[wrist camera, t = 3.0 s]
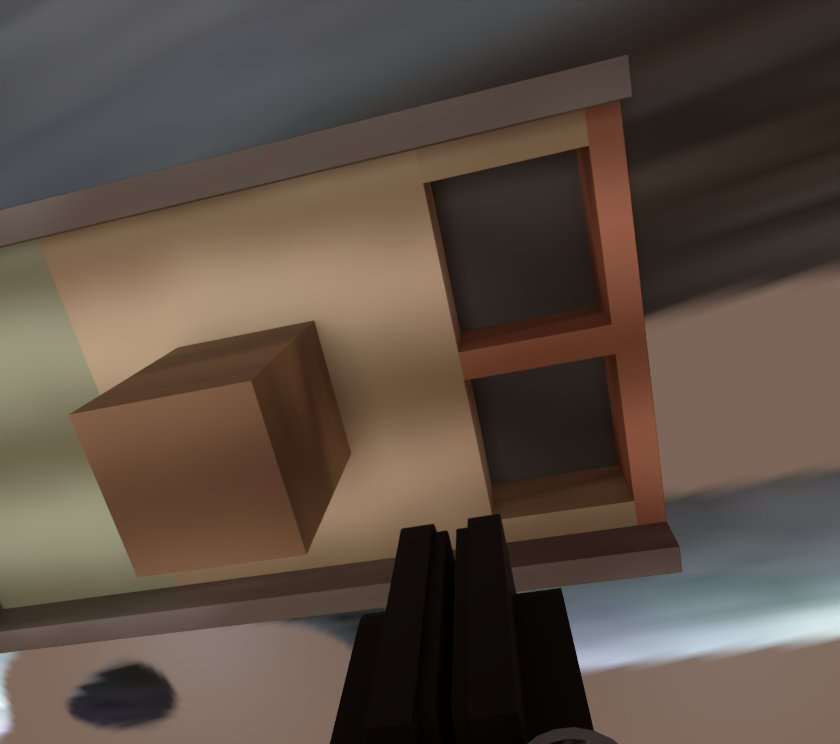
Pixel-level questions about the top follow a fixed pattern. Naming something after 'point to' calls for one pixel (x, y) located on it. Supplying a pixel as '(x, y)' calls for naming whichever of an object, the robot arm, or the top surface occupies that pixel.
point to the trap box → (350, 353)
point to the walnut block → (219, 451)
